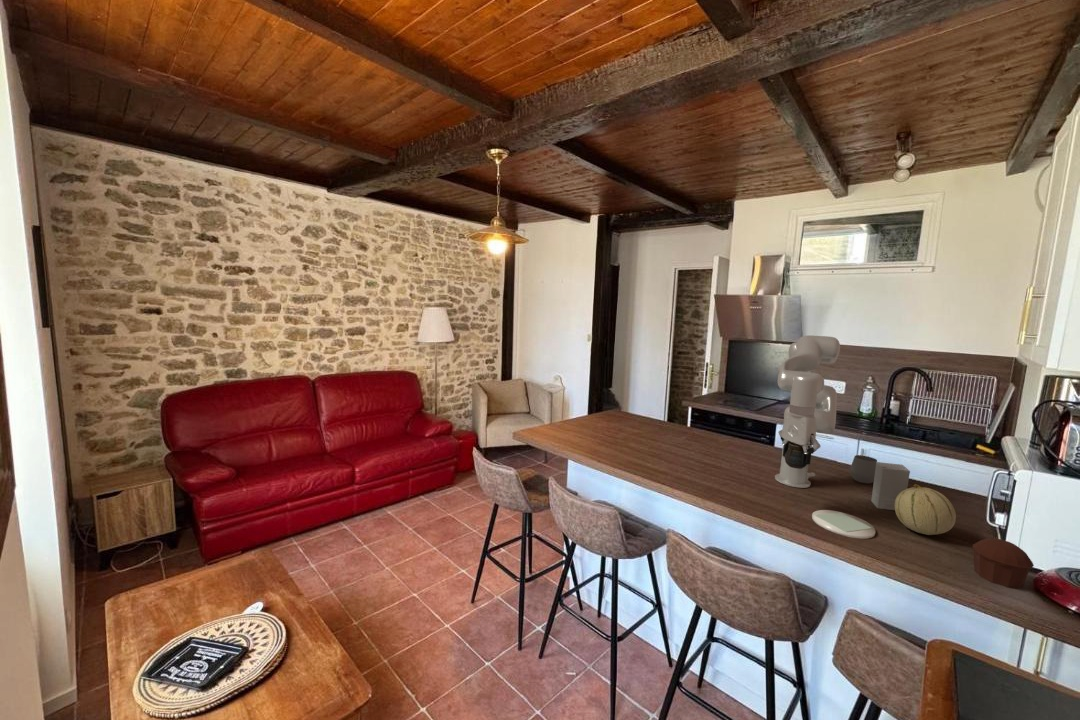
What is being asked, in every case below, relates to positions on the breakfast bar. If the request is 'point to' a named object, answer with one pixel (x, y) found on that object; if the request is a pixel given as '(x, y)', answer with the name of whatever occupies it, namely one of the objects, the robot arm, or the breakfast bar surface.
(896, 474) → the skincare box
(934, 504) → the cantaloupe
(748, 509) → the breakfast bar surface
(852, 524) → the stand
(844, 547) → the breakfast bar surface
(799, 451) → the mate gourd
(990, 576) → the muffin
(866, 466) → the cup
